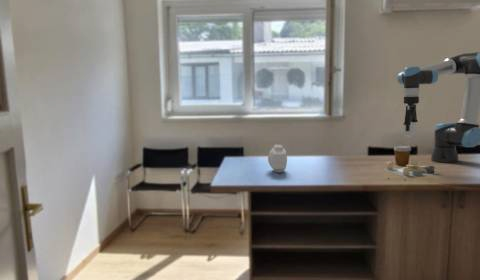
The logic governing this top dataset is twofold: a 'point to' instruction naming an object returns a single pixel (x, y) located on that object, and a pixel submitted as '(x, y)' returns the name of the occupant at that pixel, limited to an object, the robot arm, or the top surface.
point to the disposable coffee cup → (402, 155)
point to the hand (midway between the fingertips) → (410, 135)
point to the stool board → (406, 170)
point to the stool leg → (421, 168)
